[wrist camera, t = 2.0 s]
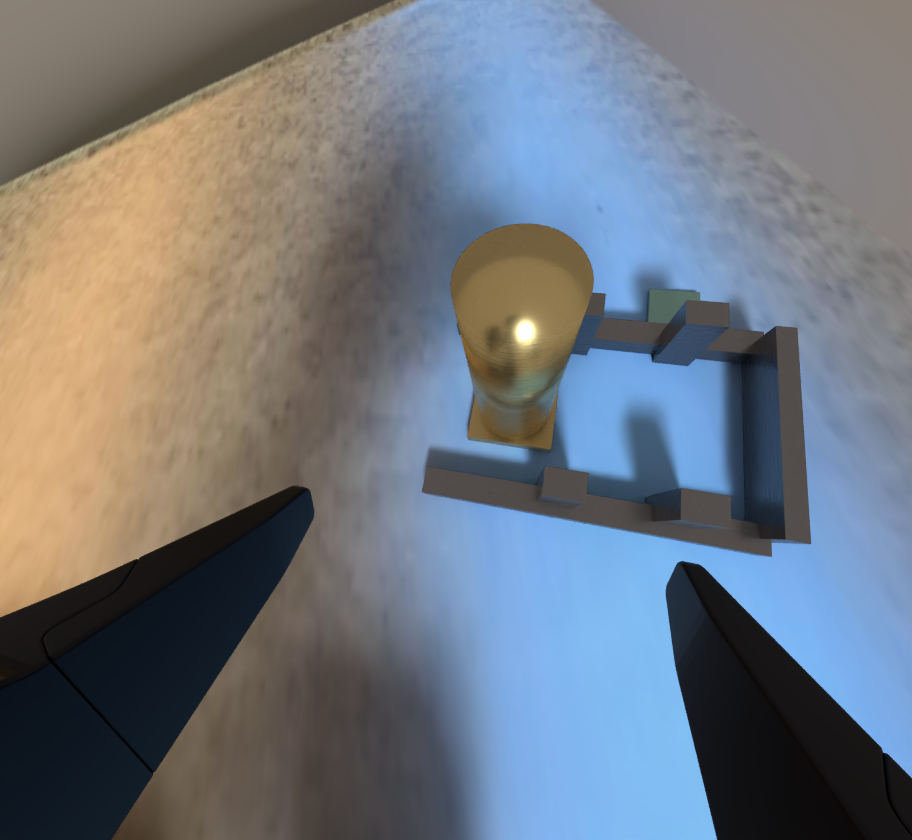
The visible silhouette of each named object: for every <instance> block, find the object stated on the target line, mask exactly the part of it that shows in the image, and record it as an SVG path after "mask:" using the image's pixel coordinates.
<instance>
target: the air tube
mask: <svg viewBox="0 0 912 840" xmlns="http://www.w3.org/2000/svg"><path fill="white" fill-rule="evenodd" d="M593 279H594V277H593V270H592V267H591V263H590V261H589V259H588V257H587V255H586V253H585V252H584V250H583V249H582V248H581V247H580V245H579V244H578V243H577V242H576V241H574V240H573V239H572V238H571V237H569V236H568V235H566V234H564V233H563V232H561V231H559V230H556V229H554V228H551V227H548V226H543V225H539V224H513V225H508V226H504V227H500V228H497V229H494V230H492V231H490V232H488V233H486V234H484V235H483V236H481V237H479V238H478V239H477V240H475V241H474V242H473V243H472V244H470V245H469V246H468V247H467V248H466V250H465V251H464V252H463V253H462V254H461V256H460V258H459V259H458V261H457V263H456V265H455V267H454V270H453V273H452V278H451V296H452V301H453V305H454V309H455V313H456V317H457V321H458V325H459V330H460V334H461V338H462V342H463V346H464V350H465V354H466V359H467V363H468V367H469V371H470V375H471V379H472V383H473V388H474V392H475V398H474V403H473V409H472V414H471V419H470V425H469V430H468V436H467V437H468V440H473V441H479V442H485V443H492V444H498V445H505V446H511V447H518V448H524V449H531V450H537V451H544V452H550V451H551V445H552V437H553V429H554V421H555V413H556V405H557V397H558V389H559V386H560V383H561V380H562V377H563V375H564V372H565V369H566V366H567V363H568V360H569V357H570V355H571V352H572V349H573V346H574V343H575V340H576V337H577V335H578V332H579V329H580V326H581V323H582V320H583V318H584V315H585V312H586V309H587V306H588V303H589V300H590V298H591V295H592V290H593Z"/></svg>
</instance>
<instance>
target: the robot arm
mask: <svg viewBox="0 0 912 840" xmlns="http://www.w3.org/2000/svg"><path fill="white" fill-rule="evenodd" d="M313 518H314V507H313V502H312V497H311V492H310V490H309V489H308V488H305V487H300V486H291V487H289V488H287V489H285V490H283V491H281V492H278V493H276V494H274V495H272V496H270V497H268V498H266V499H263V500H261V501H259V502H257V503H255V504H253V505H251V506H248V507H246V508H244V509H242V510H240V511H238V512H236V513H234V514H231V515H229V516H227V517H225V518H223V519H221V520H219V521H216V522H214V523H212V524H210V525H208V526H206V527H204V528H201V529H199V530H197V531H195V532H193V533H191V534H189V535H186V536H184V537H182V538H180V539H178V540H176V541H174V542H171V543H169V544H167V545H165V546H163V547H161V548H159V549H156V550H154V551H152V552H150V553H148V554H146V555H144V556H142V557H140V558H139V559H135V560H133V561H131V562H129V563H126V564H124V565H122V566H120V567H118V568H116V569H114V570H111V571H109V572H107V573H105V574H102V575H100V576H98V577H96V578H94V579H91V580H89V581H87V582H85V583H82V584H80V585H78V586H75V587H73V588H71V589H68V590H66V591H63V592H61V593H59V594H56V595H54V596H52V597H49V598H47V599H44V600H42V601H39V602H37V603H34V604H32V605H30V606H27V607H25V608H22V609H20V610H17V611H15V612H13V613H10V614H8V615H5V616H3V617H0V840H111V839H112V837H113V836H114V834H115V833H116V831H117V830H118V828H119V826H120V825H121V823H122V822H123V820H124V819H125V817H126V816H127V814H128V813H129V811H130V810H131V808H132V807H133V805H134V804H135V802H136V801H137V799H138V797H139V796H140V794H141V793H142V791H143V790H144V788H145V787H146V785H147V784H148V782H149V781H150V779H151V778H152V776H153V772H155V771H156V769H157V768H158V766H159V765H160V763H161V762H162V760H163V759H164V757H165V756H166V754H167V753H168V751H169V750H170V748H171V746H172V745H173V743H174V742H175V740H176V739H177V737H178V736H179V734H180V733H181V731H182V730H183V728H184V727H185V725H186V724H187V722H188V720H189V719H190V717H191V716H192V714H193V713H194V711H195V710H196V708H197V707H198V705H199V704H200V702H201V701H202V699H203V698H204V696H205V694H206V693H207V691H208V690H209V688H210V687H211V685H212V684H213V682H214V681H215V679H216V678H217V676H218V675H219V673H220V672H221V670H222V668H223V667H224V665H225V664H226V662H227V661H228V659H229V658H230V656H231V655H232V653H233V652H234V650H235V649H236V647H237V646H238V644H239V642H240V641H241V639H242V638H243V636H244V635H245V633H246V632H247V630H248V629H249V627H250V626H251V624H252V623H253V621H254V620H255V618H256V616H257V615H258V613H259V612H260V610H261V609H262V607H263V606H264V604H265V603H266V601H267V600H268V598H269V597H270V595H271V594H272V592H273V590H274V589H275V587H276V586H277V584H278V583H279V581H280V580H281V578H282V577H283V575H284V573H285V572H286V570H287V568H288V566H289V565H290V563H291V561H292V559H293V557H294V555H295V553H296V551H297V549H298V547H299V545H300V544H301V542H302V540H303V538H304V536H305V534H306V532H307V530H308V528H309V526H310V524H311V522H312V520H313ZM666 601H667V608H668V616H669V623H670V631H671V638H672V646H673V654H674V660H675V667H676V671H677V676H678V681H679V685H680V689H681V693H682V697H683V701H684V705H685V709H686V713H687V718H688V722H689V726H690V730H691V734H692V738H693V742H694V746H695V750H696V755H697V759H698V763H699V767H700V771H701V775H702V779H703V783H704V787H705V792H706V796H707V800H708V804H709V808H710V812H711V816H712V820H713V824H714V828H715V833H716V837H717V840H912V778H911V777H910V776H909V775H908V774H907V773H906V772H905V771H904V770H903V769H902V768H901V767H900V766H899V765H898V764H897V763H896V762H895V761H894V760H893V759H892V758H891V757H890V756H889V755H888V754H886V753H883V751H882V748H881V747H880V746H879V745H878V744H877V743H876V742H875V741H874V740H873V739H872V738H871V737H870V736H869V735H868V734H867V733H866V732H865V731H864V730H863V729H862V728H861V726H860V725H859V724H858V723H857V722H856V721H855V720H854V719H853V718H852V717H851V716H850V715H849V714H848V713H847V712H846V711H845V710H844V709H843V708H842V707H841V706H840V705H839V704H838V703H837V702H836V701H835V700H834V699H833V698H832V697H831V696H830V695H829V694H828V693H827V692H826V691H825V690H824V689H823V688H822V687H821V686H820V685H819V684H818V683H817V682H816V681H815V680H814V679H813V678H812V677H811V676H810V675H809V674H808V673H807V672H806V671H805V670H804V669H803V668H802V667H801V666H800V665H799V664H798V663H797V662H796V661H795V660H794V659H793V658H792V657H791V656H790V655H789V654H788V653H787V651H786V650H785V649H784V648H783V647H782V646H781V645H780V644H779V643H778V642H777V641H776V640H775V639H774V638H773V637H772V636H771V635H770V634H769V633H768V632H767V631H766V630H765V629H764V628H763V627H762V626H761V625H760V624H759V623H758V622H757V621H756V620H755V619H754V618H753V617H752V616H751V615H750V614H749V613H748V612H747V611H746V610H745V609H744V608H743V607H742V606H741V605H740V604H739V603H738V602H737V601H736V600H735V599H734V598H733V597H732V596H731V595H730V594H729V593H728V592H727V591H726V590H725V589H724V588H723V587H722V586H721V585H720V584H719V583H718V582H717V581H716V580H715V579H714V578H713V577H712V575H711V574H710V573H709V572H708V571H707V570H706V569H705V568H703V567H702V566H701V565H699V564H694V563H689V562H684V561H680V562H679V563H677V565H676V567H675V569H674V571H673V573H672V575H671V577H670V579H669V581H668V583H667V586H666Z"/></svg>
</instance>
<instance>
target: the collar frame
mask: <svg viewBox="0 0 912 840" xmlns="http://www.w3.org/2000/svg"><path fill="white" fill-rule="evenodd" d="M605 295H606V294H603V293H592V295H591V298H590V300H589V303H588V306H587V309H586V312H585V315H584V318H583V320H582V323H581V326H580V329H579V332H578V335H577V337H576V340H575V343H574V346H573V349H572V352H571V354H580V355H587V353H588V350H589V348H596V349H606V350H616V351H626V352H636V353H645V354H653V362H655V363H665V364H674V365H684V366H688V365H689V364H690V363H691V362H693V361H694V360H695V359H704V360H714V361H724V362H734V363H742V388H743V442H744V497H745V521H741V520H736V519H731V496H728V495H722V494H715V493H709V492H703V491H697V490H691V489H684V488H680V489H676V490H672V491H668V492H664V493H660V494H656V495H652V496H648V497H646V504H642V503H637V502H631V501H625V500H619V499H613V498H607V497H602V496H596V495H590V494H587V487H588V476H589V473H585V472H579V471H573V470H567V469H561V468H555V467H548V466H545V468H544V469H543V471H542V473H541V475H540V477H539V478H538V484H537V485H532V484H526V483H520V482H514V481H509V480H503V479H497V478H491V477H485V476H479V475H474V474H468V473H462V472H456V471H450V470H444V469H439V468H433V467H427V470H426V474H425V479H424V484H423V489H422V492H423V493H425V494H430V495H435V496H440V497H446V498H451V499H457V500H462V501H467V502H473V503H478V504H483V505H489V506H494V507H500V508H505V509H510V510H516V511H521V512H526V513H532V514H537V515H543V516H548V517H553V518H559V519H564V520H569V521H575V522H580V523H586V524H591V525H596V526H602V527H607V528H612V529H618V530H623V531H629V532H634V533H639V534H645V535H650V536H655V537H661V538H666V539H672V540H677V541H682V542H688V543H693V544H698V545H704V546H709V547H715V548H720V549H725V550H731V551H736V552H741V553H747V554H752V555H759V556H769V557H772V548H771V543H795V544H811V536H810V520H809V504H808V488H807V473H806V457H805V441H804V425H803V410H802V394H801V378H800V362H799V347H798V331H797V328H794V327H782V326H775V327H774V328H773V329H771V330H770V331H769V332H767V333H766V334H765V335H764V332H759V331H747V330H736V329H728V328H729V303H723V302H709V301H700V292H687V291H673V290H659V289H650V290H649V292H648V307H647V322H644V321H632V320H621V319H609V318H603V316H604V306H605ZM457 327H458V331H459V335H461V334H460V330H459V325H458V323H457Z"/></svg>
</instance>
